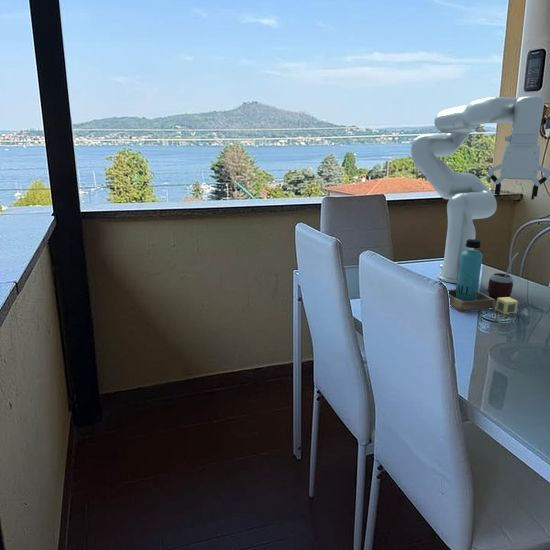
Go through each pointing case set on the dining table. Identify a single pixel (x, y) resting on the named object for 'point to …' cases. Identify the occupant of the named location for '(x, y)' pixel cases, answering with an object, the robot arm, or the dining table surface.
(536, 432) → the dining table surface
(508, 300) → the pale yellow cube
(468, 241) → the beverage bottle
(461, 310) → the tray
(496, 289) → the mate gourd
